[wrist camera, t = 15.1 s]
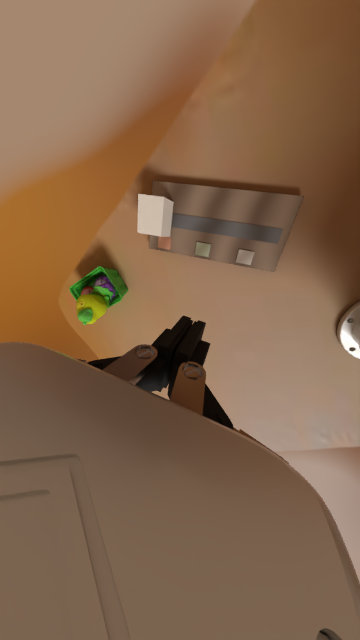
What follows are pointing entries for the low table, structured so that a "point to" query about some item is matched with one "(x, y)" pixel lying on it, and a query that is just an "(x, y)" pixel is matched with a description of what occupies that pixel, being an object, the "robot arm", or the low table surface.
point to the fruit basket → (97, 293)
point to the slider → (154, 215)
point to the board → (227, 224)
